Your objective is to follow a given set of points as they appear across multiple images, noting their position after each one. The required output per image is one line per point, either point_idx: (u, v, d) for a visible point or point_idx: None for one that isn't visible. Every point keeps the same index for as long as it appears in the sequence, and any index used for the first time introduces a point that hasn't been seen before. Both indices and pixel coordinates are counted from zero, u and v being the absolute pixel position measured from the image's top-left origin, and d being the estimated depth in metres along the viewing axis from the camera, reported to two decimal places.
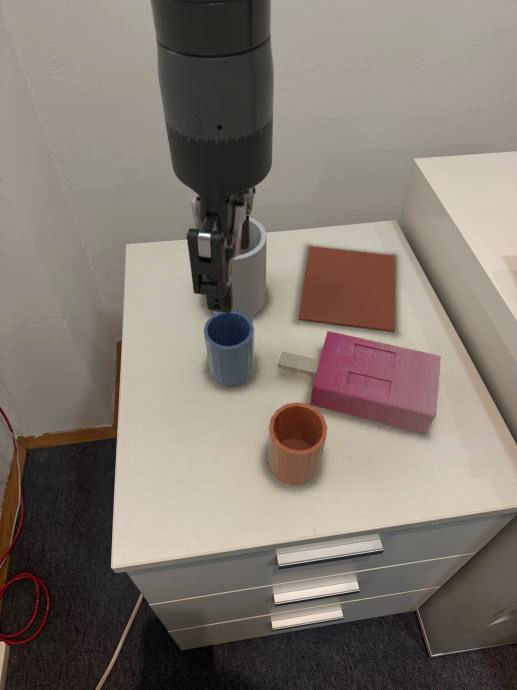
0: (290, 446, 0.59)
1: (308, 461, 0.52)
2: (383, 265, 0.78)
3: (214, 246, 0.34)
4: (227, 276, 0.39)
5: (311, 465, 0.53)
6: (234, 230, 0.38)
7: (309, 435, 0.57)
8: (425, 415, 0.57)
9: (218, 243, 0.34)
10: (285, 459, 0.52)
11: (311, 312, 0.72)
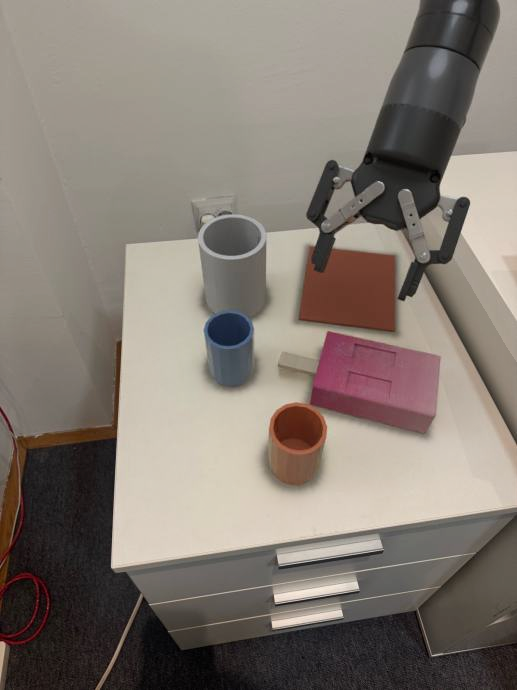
0: (290, 446, 0.59)
1: (308, 461, 0.52)
2: (383, 265, 0.78)
3: None
4: (326, 219, 0.47)
5: (311, 465, 0.53)
6: None
7: (309, 435, 0.57)
8: (425, 415, 0.57)
9: (326, 163, 0.47)
10: (285, 459, 0.52)
11: (311, 312, 0.72)
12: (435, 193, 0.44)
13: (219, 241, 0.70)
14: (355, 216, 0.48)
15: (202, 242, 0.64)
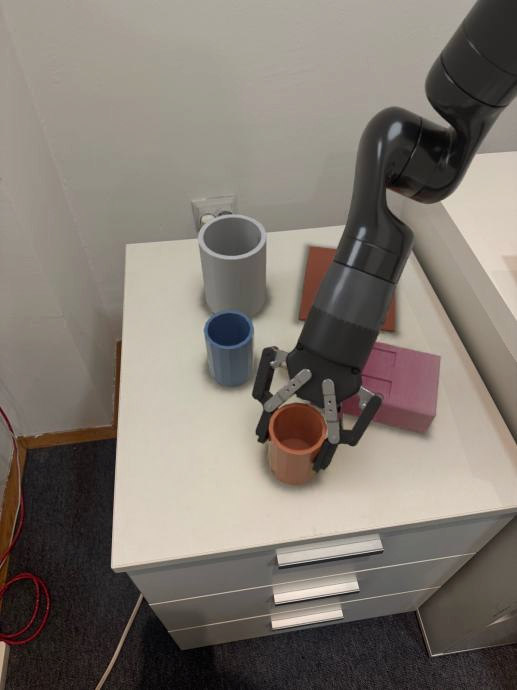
0: (290, 446, 0.59)
1: (308, 461, 0.52)
2: None
3: None
4: (268, 400, 0.53)
5: (310, 465, 0.53)
6: (291, 379, 0.52)
7: (309, 435, 0.57)
8: (425, 415, 0.57)
9: (263, 349, 0.53)
10: (285, 459, 0.52)
11: None
12: (355, 385, 0.50)
13: (219, 241, 0.70)
14: None
15: (202, 242, 0.64)
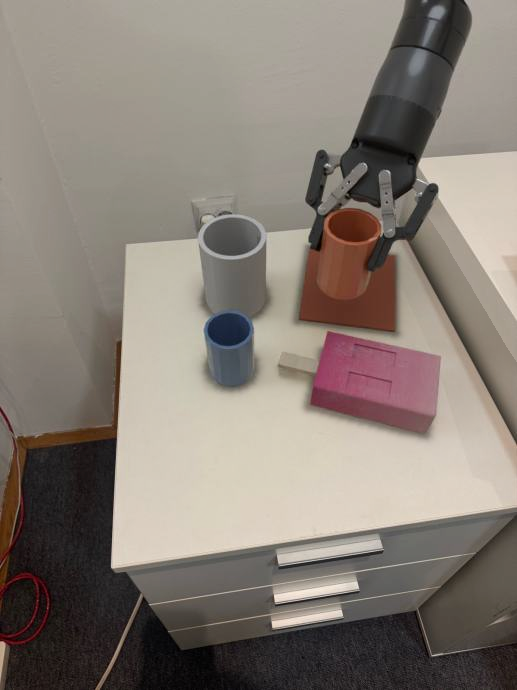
0: None
1: (362, 259, 0.52)
2: None
3: None
4: (321, 203, 0.54)
5: (364, 267, 0.54)
6: None
7: None
8: (425, 415, 0.57)
9: (316, 153, 0.53)
10: (340, 257, 0.52)
11: (311, 312, 0.72)
12: (411, 175, 0.50)
13: (219, 241, 0.70)
14: (347, 198, 0.55)
15: (202, 242, 0.64)
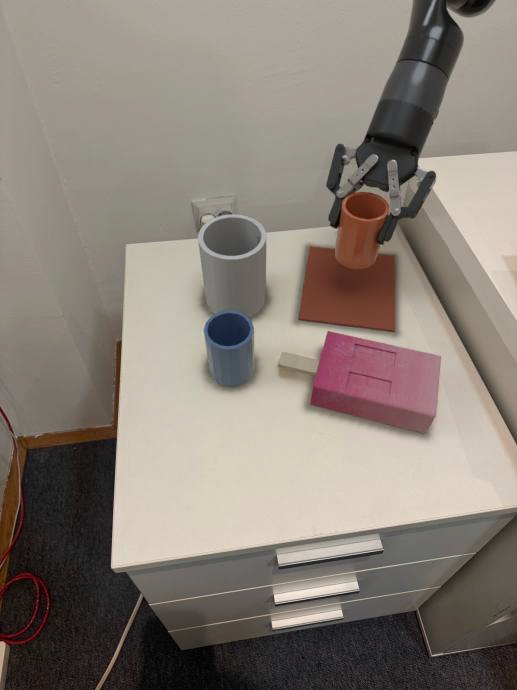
0: None
1: (373, 233, 0.64)
2: (383, 265, 0.78)
3: None
4: (339, 188, 0.65)
5: (374, 240, 0.65)
6: None
7: None
8: (426, 415, 0.57)
9: (336, 146, 0.65)
10: (355, 232, 0.64)
11: (311, 312, 0.72)
12: (414, 164, 0.62)
13: (219, 241, 0.70)
14: (360, 184, 0.66)
15: (202, 242, 0.64)
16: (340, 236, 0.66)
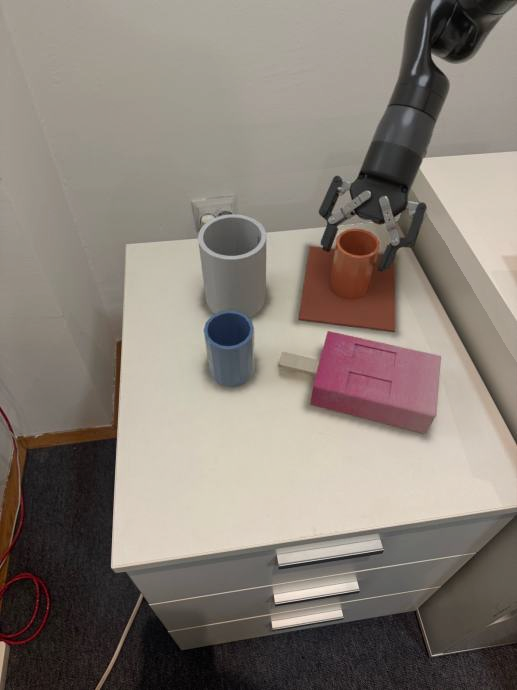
0: None
1: (365, 268, 0.69)
2: None
3: None
4: (332, 215, 0.70)
5: (366, 274, 0.70)
6: None
7: None
8: (426, 415, 0.57)
9: None
10: (348, 266, 0.69)
11: (311, 312, 0.72)
12: (404, 199, 0.66)
13: (219, 241, 0.70)
14: (352, 214, 0.71)
15: (202, 242, 0.64)
16: (334, 269, 0.71)
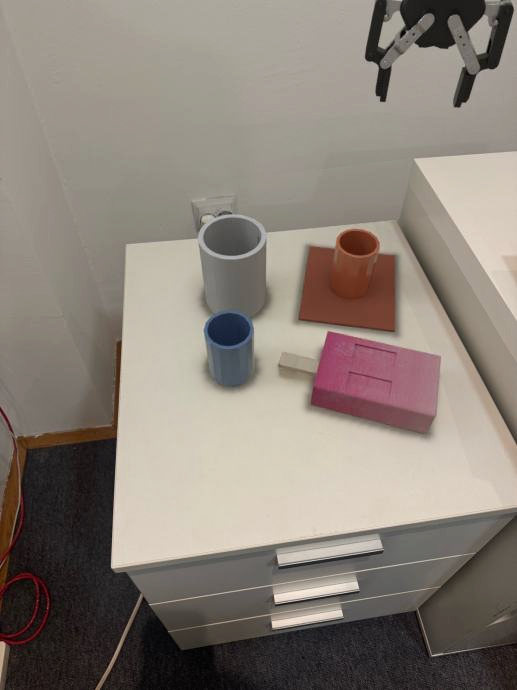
0: None
1: (365, 268, 0.69)
2: (383, 265, 0.78)
3: (375, 5, 0.51)
4: (384, 56, 0.54)
5: (366, 274, 0.70)
6: (410, 28, 0.51)
7: None
8: (426, 415, 0.57)
9: (375, 2, 0.50)
10: (348, 266, 0.69)
11: (311, 312, 0.72)
12: (481, 7, 0.49)
13: (219, 241, 0.70)
14: None
15: (202, 242, 0.64)
16: (334, 269, 0.71)
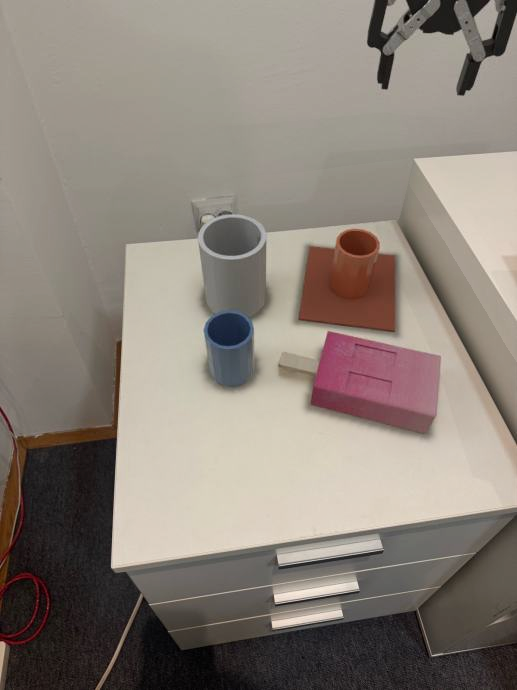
0: None
1: (365, 268, 0.69)
2: (383, 265, 0.78)
3: None
4: (386, 42, 0.52)
5: (366, 274, 0.70)
6: (415, 13, 0.49)
7: None
8: (426, 415, 0.57)
9: None
10: (348, 266, 0.69)
11: (311, 312, 0.72)
12: None
13: (219, 241, 0.70)
14: None
15: (202, 242, 0.64)
16: (334, 269, 0.71)
